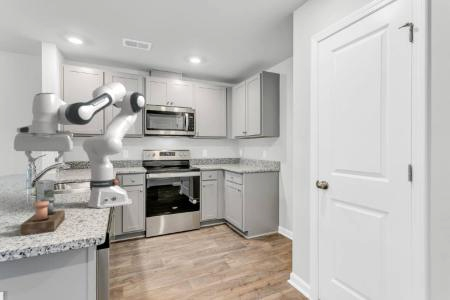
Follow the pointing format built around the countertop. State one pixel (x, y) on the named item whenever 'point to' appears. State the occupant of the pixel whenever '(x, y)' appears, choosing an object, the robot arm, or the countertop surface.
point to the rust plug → (41, 210)
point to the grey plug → (51, 204)
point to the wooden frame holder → (43, 223)
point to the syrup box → (44, 189)
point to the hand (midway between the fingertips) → (44, 162)
